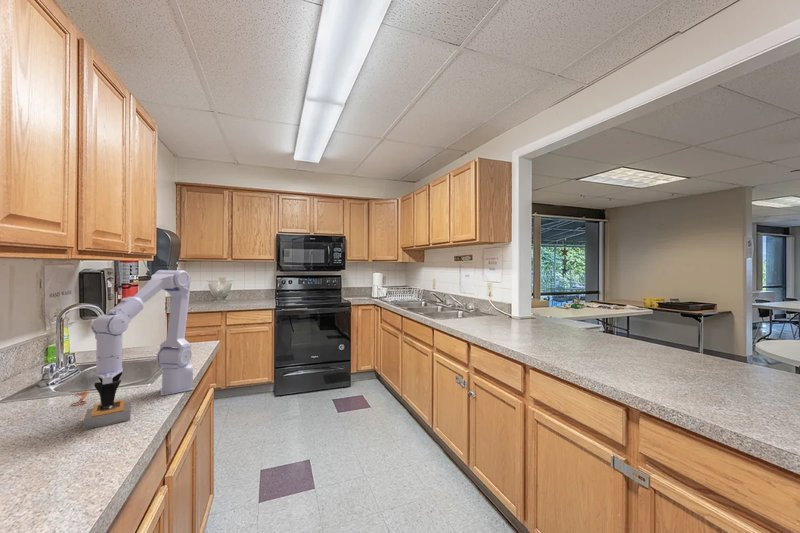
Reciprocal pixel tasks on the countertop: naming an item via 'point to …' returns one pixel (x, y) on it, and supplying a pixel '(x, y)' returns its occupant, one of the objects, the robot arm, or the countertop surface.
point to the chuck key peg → (106, 406)
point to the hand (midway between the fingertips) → (108, 401)
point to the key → (81, 398)
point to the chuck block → (107, 415)
